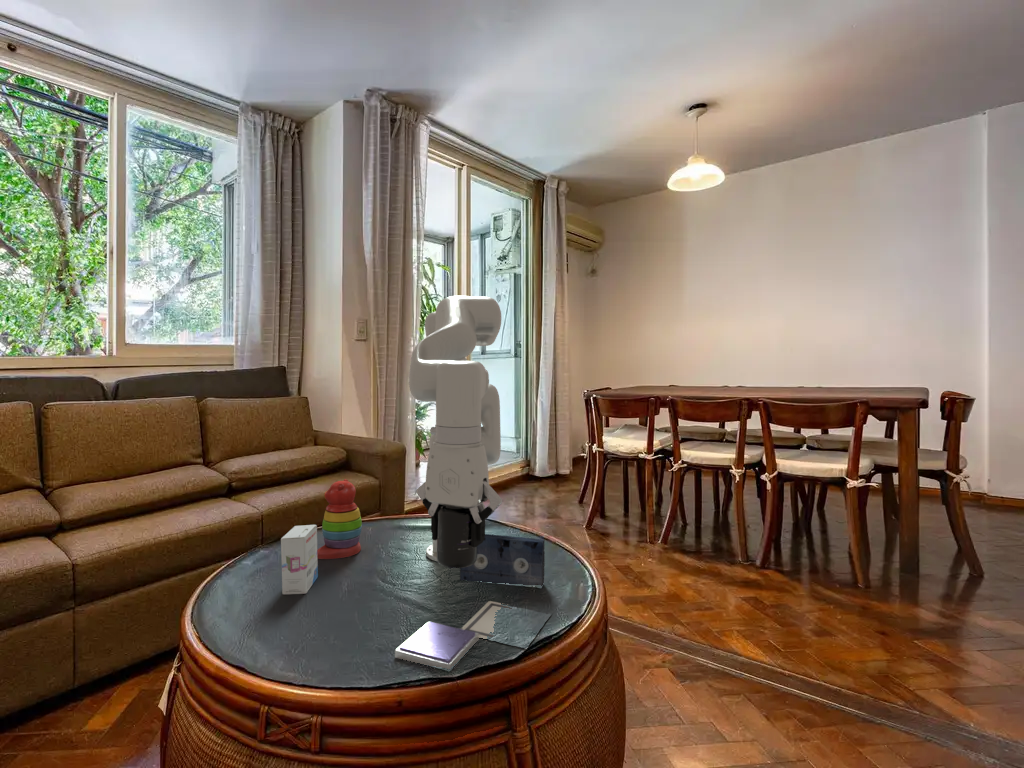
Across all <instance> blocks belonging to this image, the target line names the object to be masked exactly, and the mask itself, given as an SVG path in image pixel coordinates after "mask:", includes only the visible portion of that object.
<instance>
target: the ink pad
mask: <svg viewBox="0 0 1024 768" xmlns="http://www.w3.org/2000/svg"><path fill="white" fill-rule="evenodd" d="M478 640H479V641H480V639H479V633H476V632H472V631H467V630H463V629H461V628H458V627H454V626H451V625H447V624H441V623H437V622H432V621H427V622H426V623H425V624H424V625H423V626H422V627H420V628H419V629H417V631H416V632H414V633H413V634H412V635H411V636H409V637H408V638H407V639H406V640H405V641H404V642H403V643H401V644H400V645H399V646H398V647H397V648H396V649H394V658H395V659H399V660H402V659H403V661H406V660H407V661H406V662H410V661H411V662H410V663H413V662H415V663H414V664H417V663H420V664H424V665H429V666H436V667H442V668H447V669H450V668H451V667H452V666H454V664H456V663H457V662H458V661H459V660H460V659H461V657H463V656H464V655H465V653H466V652H467V651H468V650H469V649H470V648H471V647H472V646H473V645H474V644H475V643H476V642H477V641H478ZM479 641H478V642H479ZM478 642H477V643H478ZM477 643H476V644H477ZM476 644H475V645H476ZM475 645H474V646H475ZM465 656H466V655H465ZM465 656H464V657H465ZM420 664H419V665H420ZM424 665H423V666H424Z"/></svg>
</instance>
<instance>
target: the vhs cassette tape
mask: <svg viewBox="0 0 1024 768" xmlns="http://www.w3.org/2000/svg"><path fill="white" fill-rule="evenodd" d="M545 559H546V557H545V539H543V538H541V539H539V538H532V537H523V536H522V537H521V536H520V537H519V536H510V535H499V534H486V533H485V539H484V540H483V542H482V543H481V544H480V545H478V546H477V560H476V562H475V563H474V564H473V565H471V566H468V567H464V568H459V569H460V570H459V572H460V573H459V579H460V581H463V580H467V581H466V582H472V581H479V582H478V583H482V582H492V583H505V584H506V583H509V584H523V585H541V586H542V585H543V583H544V584H545V566H546V565H545V564H546V563H545ZM480 581H482V582H480ZM543 586H544V585H543Z"/></svg>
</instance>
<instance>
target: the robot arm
mask: <svg viewBox="0 0 1024 768" xmlns="http://www.w3.org/2000/svg"><path fill="white" fill-rule="evenodd" d="M501 326H502V311H501V307H500V305H499V303H498V302H497V300H496V299H494V298H492V297H489V296H476V295H475V296H474V295H473V296H469V295H452V296H448V297H445V298H443V299H442V300H440V301H439V302H438V304H437V307H436V309H435V311H433V312H430V313H428V315H427V316H426V317H425V320H424V331H425V337H424V338H422V339H421V340H419V342H417V344H416V345H415V347H414V348H413V351H412V353H411V358H410V362H409V363H410V365H409V372H408V373H409V375H408V387H409V391H410V393H411V396H412V397H413V398H414V399H415V400H417V401H419V402H425V403H426V402H427V403H430V402H431V403H433V402H435V426H431V427H430V429H429V432H430V437H429V442H428V443H429V453H428V458H427V462H426V463H427V464H426V471H425V481H424V483H422V484H421V485H420V486H419V487H418V488H417V489H416V494H417V496H418V498H419V499H420V500H421V502H422V504H423V506H424V507H425V508H426V510H427V514H428V516H430V526H431V527H430V529H431V530H430V532H431V540H432V544H430V545H429V546H428V547H426V549H425V556H426V557H427V559H429V560H431V561H435V562H438V561H437V517H438V511H439V509H440V508H441V507H442V506H443V505H448V506H454V507H461V508H469V509H470V511H471V514H472V516H473V519H474V522H473V523H472V524H471V546H472V547H477V546H478V545H480V544H481V543H482V542H483V540H484V539H485V534H486V520H487V519H488V518H489V517H490V516H491V515H492V514H493V513H494V512H495V511H496V510H497V509H498V508H499V507H500V505H502V504H503V498H502V497H501V496H500V495H499V494H498V493H497V491H495V490H494V489H493V487H492V486H491V485H490V481H489V480H490V479H489V478H490V476H489V465H490V466H491V465H494V464H496V463H497V462H498V461H499V459H500V457H501V450H502V449H501V447H502V445H501V443H502V441H501V440H502V439H501V437H502V436H501V405H500V403H501V401H500V394H499V391H498V389H497V388H496V386H495V385H493V384H491V383H490V375H489V372H488V371H489V370H487V369H486V367H485V365H484V364H483V363H481V362H480V361H476V360H468V359H467V357H469V355H471V354H472V353H473V351H474V350H475V349H476V347H487V346H492V345H493V344H494V343H495V342H496V339H497V337H498V335H499V333H500V329H501ZM488 500H489V504H488V505H487V506H486V507H485V503H484V502H487V501H488Z"/></svg>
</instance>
